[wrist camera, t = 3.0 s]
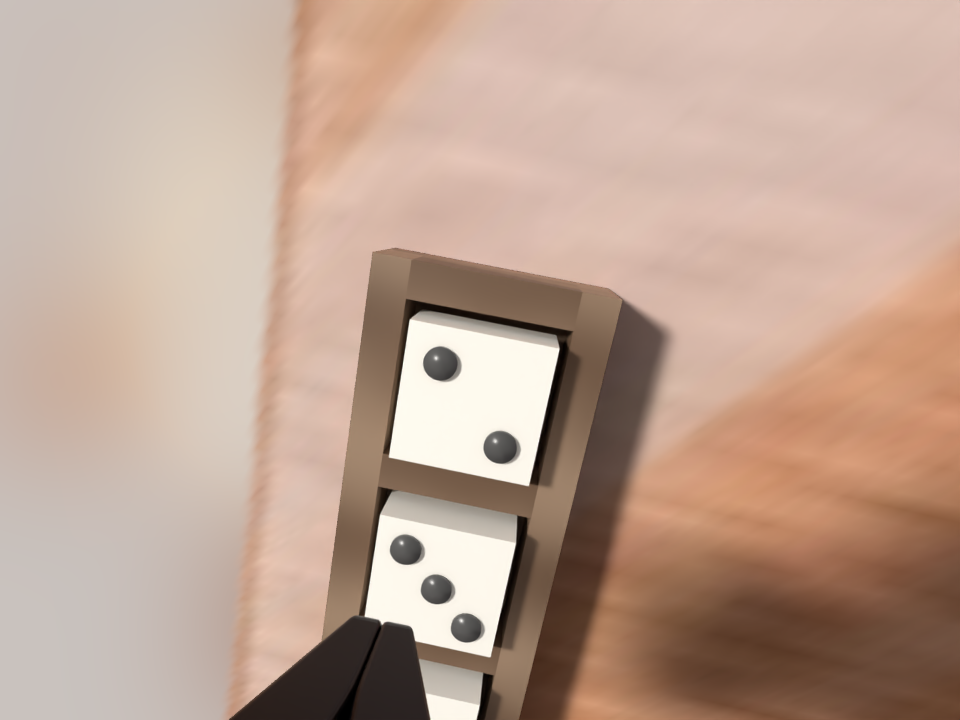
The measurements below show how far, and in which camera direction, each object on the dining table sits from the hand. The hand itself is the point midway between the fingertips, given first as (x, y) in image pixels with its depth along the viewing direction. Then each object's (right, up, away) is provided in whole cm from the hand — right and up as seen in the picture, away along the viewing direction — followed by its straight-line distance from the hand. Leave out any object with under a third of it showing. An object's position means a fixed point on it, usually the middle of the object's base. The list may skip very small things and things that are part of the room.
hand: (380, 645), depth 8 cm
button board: (0, -2, +14) cm, 15 cm away
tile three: (0, -3, +12) cm, 13 cm away
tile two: (+1, +3, +11) cm, 11 cm away
